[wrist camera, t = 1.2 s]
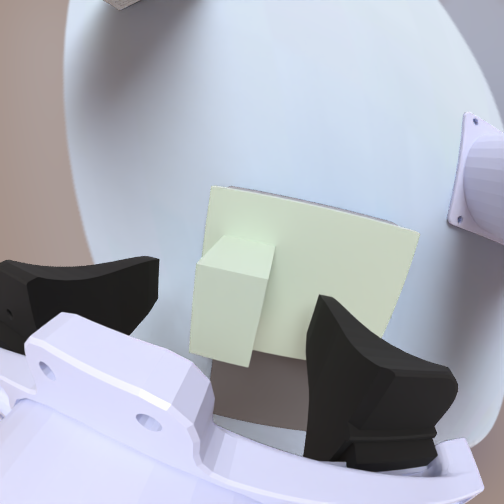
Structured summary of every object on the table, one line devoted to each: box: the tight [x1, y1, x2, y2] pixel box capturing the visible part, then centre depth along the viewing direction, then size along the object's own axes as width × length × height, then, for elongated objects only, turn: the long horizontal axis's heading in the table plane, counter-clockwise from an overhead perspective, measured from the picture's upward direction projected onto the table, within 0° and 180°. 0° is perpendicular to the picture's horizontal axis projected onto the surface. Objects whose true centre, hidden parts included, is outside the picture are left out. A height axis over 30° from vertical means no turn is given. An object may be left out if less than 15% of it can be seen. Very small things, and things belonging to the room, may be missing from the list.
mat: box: [210, 350, 309, 431], centre depth 20 cm, size 12×10×1 cm
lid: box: [189, 185, 420, 367], centre depth 12 cm, size 10×8×5 cm
